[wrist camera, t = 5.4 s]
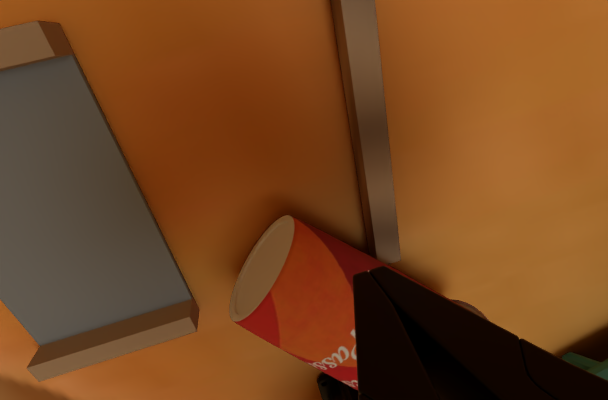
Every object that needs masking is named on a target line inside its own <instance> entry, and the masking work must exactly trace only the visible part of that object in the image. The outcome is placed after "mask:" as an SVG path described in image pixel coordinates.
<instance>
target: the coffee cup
mask: <svg viewBox="0 0 608 400" xmlns="http://www.w3.org/2000/svg"><path fill="white" fill-rule="evenodd" d="M380 266H386V267H388V268H390V269H392V270H393V271H395V272H397V273H399V274H401V275H403V276H405V277H407V278H409V279H410V280H412V281H414V282H416V283H418V284H420V285H422V286H424V287H426V286H425V285H423V284H421V283H419V282H418V281H416V280H414V279H412V278H410V277H409V276H407V275H405V274H403V273H402V272H400V271H398V270H396V269H394V268H392V267H390V266H389V265H387V264H385V263H383V262H381V261H379V260H377V259H375V258H373V257H371V256H369V255H367V254H365V253H363V252H361V251H359V250H357V249H355V248H353V247H352V246H350V245H348V244H346V243H344V242H342V241H340V240H338V239H336V238H335V237H333V236H331V235H329V234H327V233H325V232H323V231H321V230H319V229H317V228H315V227H313V226H311V225H309V224H307V223H305V222H303V221H301V220H299V219H297V218H295V217H292V216H290V215H285V216H282V217H281V218H279V219H277V220H276V221H275V222H274V223H273V224H272V225H271V226H270V227H269V228H268V229H267V230H266V231H265V232H264V234H263V235H262V236H261V237H260V239H259V240H258V242H257V243H256V244H255V246H254V247H253V249H252V251H251V252H250V254H249V256H248V258H247V259H246V261H245V263H244V265H243V267H242V269H241V271H240V273H239V276H238V278H237V281H236V283H235V286H234V289H233V292H232V296H231V300H230V307H229V313H230V317H231V319H232V320H233V321H234V322H235V323H237V324H238V325H240V326H242V327H243V328H245V329H246V330H248V331H250V332H252V333H253V334H255V335H257V336H259V337H260V338H262V339H264V340H266V341H267V342H269V343H271V344H273V345H275V346H276V347H278V348H280V349H282V350H284V351H286V352H287V353H289V354H291V355H293V356H295V357H297V358H298V359H300V360H302V361H304V362H306V363H308V364H309V365H311V366H313V367H315V368H317V369H319V370H321V371H322V372H324V373H326V374H328V375H330V376H332V377H333V378H335V379H337V380H339V381H341V382H343V383H345V384H346V385H348V386H350V387H352V388H354V389H356V390H358V380H357V360H356V340H355V319H354V299H353V275H354V274H357V273H361V272H364V271H368V272H369V270H371V269H373V268H377V267H380ZM426 288H427V289H429V290H431V291H433V290H432V289H430V288H428V287H426ZM433 292H435V291H433ZM435 293H437V292H435ZM437 294H439V293H437ZM439 295H441V294H439ZM441 296H443V295H441ZM443 297H444V298H446V297H445V296H443ZM446 299H448V298H446ZM448 300H450V301H452V302H454V303H456V304H458V305H460V306H461V307H463V308H465V309H467V310H469V311H471V312H473V313H475V314H477V315H478V316H480V317H482V318H484V319H486V320H488V319H487V318H486V316H485V315H484V314H483V313H482V312H480V311H479V310H478V309H476V308H475V307H474V306H472V305H470V304H468V303H466V302H462V301H459V300H451V299H448ZM488 321H489V320H488Z"/></svg>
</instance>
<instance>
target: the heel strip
mask: <svg viewBox="0 0 608 400" xmlns="http://www.w3.org/2000/svg"><path fill="white" fill-rule="evenodd" d="M330 1H331V7H332V14H333V20H334V27H335V33H336V40H337V46H338V53H339V59H340V66H341V72H342V79H343V85H344V92H345V98H346V105H347V111H348V118H349V124H350V131H351V137H352V144H353V150H354V157H355V163H356V170H357V176H358V183H359V190H360V196H361V203H362V209H363V216H364V222H365V229H366V235H367V242H368V248H369V254H370V255H371V257H373V258H375V259H377V260H379V261H381V262H383V263H385V264H390V263H394V262H397V261H400V260H401V256H400V246H399V236H398V226H397V216H396V206H395V196H394V186H393V177H392V167H391V157H390V147H389V137H388V127H387V117H386V107H385V97H384V88H383V78H382V68H381V58H380V48H379V38H378V28H377V18H376V8H375V0H330Z"/></svg>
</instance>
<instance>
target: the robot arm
mask: <svg viewBox="0 0 608 400" xmlns="http://www.w3.org/2000/svg"><path fill="white" fill-rule="evenodd" d="M353 299H354V319H355V340H356V360H357V380H358V390H356V389H354V388H352V387H350V386H348V385H346V384H345V383H343V382H341V381H339V380H337V379H335V378H333V377H332V376H330V375H328V374H324V375H322V376H320V377H319V378H318V379H317V383H318V387H319V390H320V393H321V396H322V399H323V400H608V380H606V379H603V378H601V377H599V376H597V375H595V374H592V373H590V372H588V371H586V370H584V369H582V368H579V367H577V366H575V365H573V364H571V363H569V362H567V361H565V360H563V359H561V358H559V357H557V356H555V355H553V354H551V353H549V352H547V351H545V350H543V349H541V348H539V347H537V346H536V345H534V344H532V343H530V342H528V341H526V340H524V339H519V338H518V336H516V335H514V334H513V333H511V332H509V331H507V330H505V329H503V328H501V327H499V326H497V325H496V324H494V323H492V322H490V321H488V320H486V319H484V318H482V317H480V316H478V315H477V314H475V313H473V312H471V311H469V310H467V309H465V308H463V307H461V306H460V305H458V304H456V303H454V302H452V301H450V300H448V299H446V298H444V297H443V296H441V295H439V294H437V293H435V292H433V291H431V290H429V289H427V288H426V287H424V286H422V285H420V284H418V283H416V282H414V281H412V280H410V279H409V278H407V277H405V276H403V275H401V274H399V273H397V272H395V271H393V270H392V269H390V268H388V267H386V266H380V267H377V268H373V269H371V270H369V272H368V271H364V272H361V273H357V274H354V275H353Z"/></svg>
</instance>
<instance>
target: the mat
mask: <svg viewBox="0 0 608 400" xmlns="http://www.w3.org/2000/svg"><path fill="white" fill-rule="evenodd" d="M0 299H1V301H2V302H3V303H4V304H5V305H6V306H7V308H8V309H9V310H10V311H11V312H12V314H13V315H14V316H15V317H16V318H17V319H18V321H19V322H20V323H21V324H22V325H23V327H24V328H25V329H26V330H27V331H28V332H29V334H30V335H31V336H32V337H33V338H34V340H35V341H36V342H37V343H38V344H39V345H40V347H39V349H38V350H37V352H36V354H35V355H34V357H33V358H32V360H31V362H30V363H29V365H28V367H27V369H28V370H29V371H30V373H31V374H32V375H33V376H34V377H35V378H36V379H37V380H38V381H39V382H40V381H43V380H46V379H49V378H53V377H56V376H59V375H62V374H65V373H68V372H71V371H74V370H78V369H81V368H84V367H87V366H90V365H93V364H96V363H100V362H103V361H106V360H109V359H112V358H115V357H118V356H121V355H125V354H128V353H131V352H134V351H137V350H140V349H143V348H147V347H150V346H153V345H156V344H159V343H162V342H165V341H168V340H172V339H175V338H178V337H181V336H184V335H187V334H190V333H193V332H197V327H198V317H199V308H198V306H197V304H196V302H195V300H194V298H193V296H192V294H191V292H190V290H189V288H188V286H187V284H186V282H185V280H184V278H183V276H182V273H181V271H180V269H179V267H178V265H177V263H176V261H175V259H174V257H173V255H172V253H171V251H170V249H169V247H168V245H167V243H166V241H165V239H164V237H163V235H162V233H161V231H160V229H159V226H158V224H157V222H156V220H155V218H154V216H153V214H152V212H151V210H150V208H149V206H148V204H147V202H146V200H145V198H144V196H143V194H142V192H141V190H140V188H139V186H138V184H137V182H136V179H135V177H134V175H133V173H132V171H131V169H130V167H129V165H128V163H127V161H126V159H125V157H124V155H123V153H122V151H121V149H120V147H119V145H118V143H117V141H116V139H115V137H114V135H113V132H112V130H111V128H110V126H109V124H108V122H107V120H106V118H105V116H104V114H103V112H102V110H101V108H100V106H99V104H98V102H97V100H96V98H95V96H94V94H93V92H92V90H91V88H90V85H89V83H88V81H87V79H86V77H85V75H84V73H83V71H82V69H81V67H80V65H79V63H78V61H77V59H76V57H75V55H74V53H73V51H72V49H71V47H70V45H69V43H68V41H67V38H66V36H65V34H64V32H63V30H62V28H61V26H60V24H59V23H52V22H43V21H34V22H29V23H25V24H21V25H16V26H12V27H7V28H3V29H0Z"/></svg>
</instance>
